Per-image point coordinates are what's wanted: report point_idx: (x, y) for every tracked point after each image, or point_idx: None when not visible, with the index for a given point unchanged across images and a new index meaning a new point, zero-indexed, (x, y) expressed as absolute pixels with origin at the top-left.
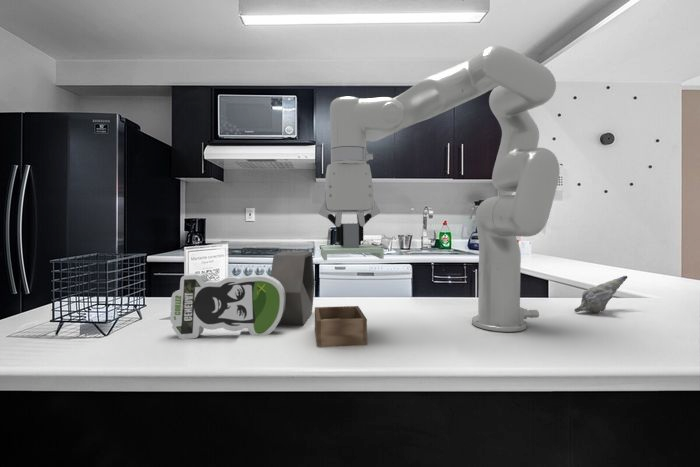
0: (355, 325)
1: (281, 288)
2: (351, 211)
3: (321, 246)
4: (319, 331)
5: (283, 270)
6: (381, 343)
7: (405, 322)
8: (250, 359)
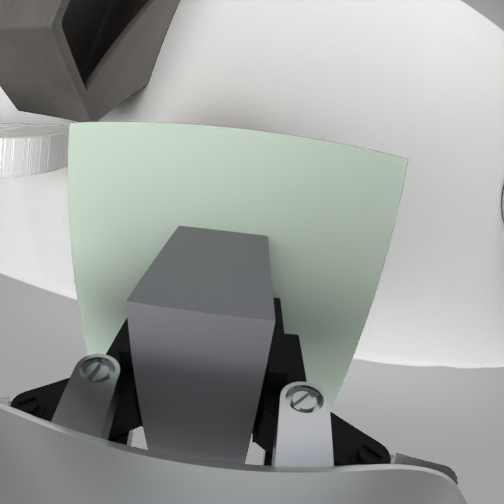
0: None
1: (35, 168)
2: (222, 471)
3: (69, 208)
4: None
5: (16, 71)
6: None
7: (409, 102)
8: (63, 261)
